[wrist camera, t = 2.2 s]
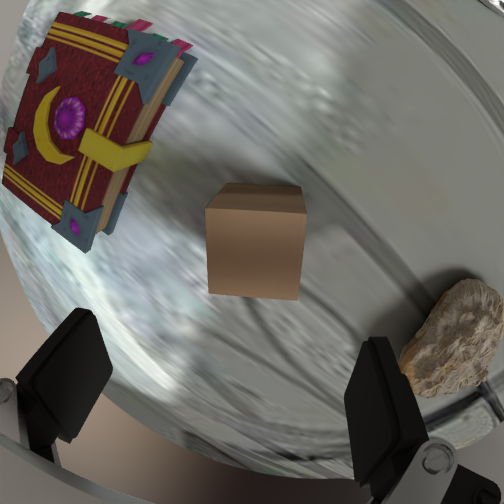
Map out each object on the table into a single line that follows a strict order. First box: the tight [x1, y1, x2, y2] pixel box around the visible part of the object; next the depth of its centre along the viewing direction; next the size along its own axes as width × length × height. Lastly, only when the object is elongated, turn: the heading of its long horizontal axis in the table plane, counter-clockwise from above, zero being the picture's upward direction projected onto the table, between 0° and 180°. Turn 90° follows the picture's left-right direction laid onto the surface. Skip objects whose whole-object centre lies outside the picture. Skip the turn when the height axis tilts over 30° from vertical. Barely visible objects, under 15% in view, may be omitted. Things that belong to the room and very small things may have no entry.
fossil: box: [398, 278, 504, 398], centre depth 21 cm, size 12×8×10 cm
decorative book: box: [2, 11, 198, 254], centre depth 16 cm, size 11×16×5 cm
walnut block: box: [205, 183, 307, 301], centre depth 18 cm, size 5×5×6 cm
